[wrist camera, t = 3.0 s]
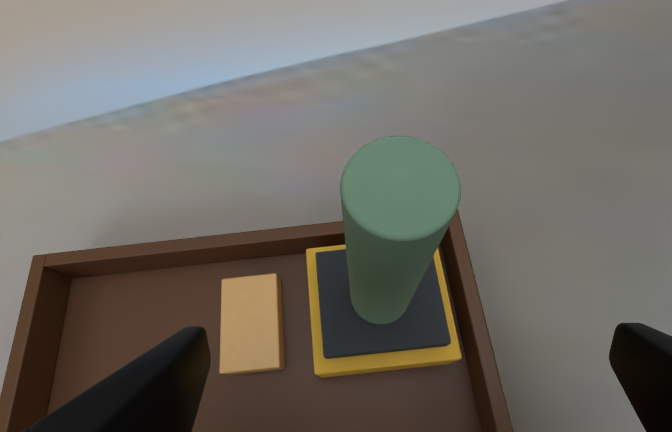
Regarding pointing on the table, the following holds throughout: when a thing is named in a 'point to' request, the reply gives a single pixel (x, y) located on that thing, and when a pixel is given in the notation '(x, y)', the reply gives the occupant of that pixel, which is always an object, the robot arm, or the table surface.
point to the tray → (205, 310)
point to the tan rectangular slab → (251, 325)
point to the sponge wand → (386, 264)
